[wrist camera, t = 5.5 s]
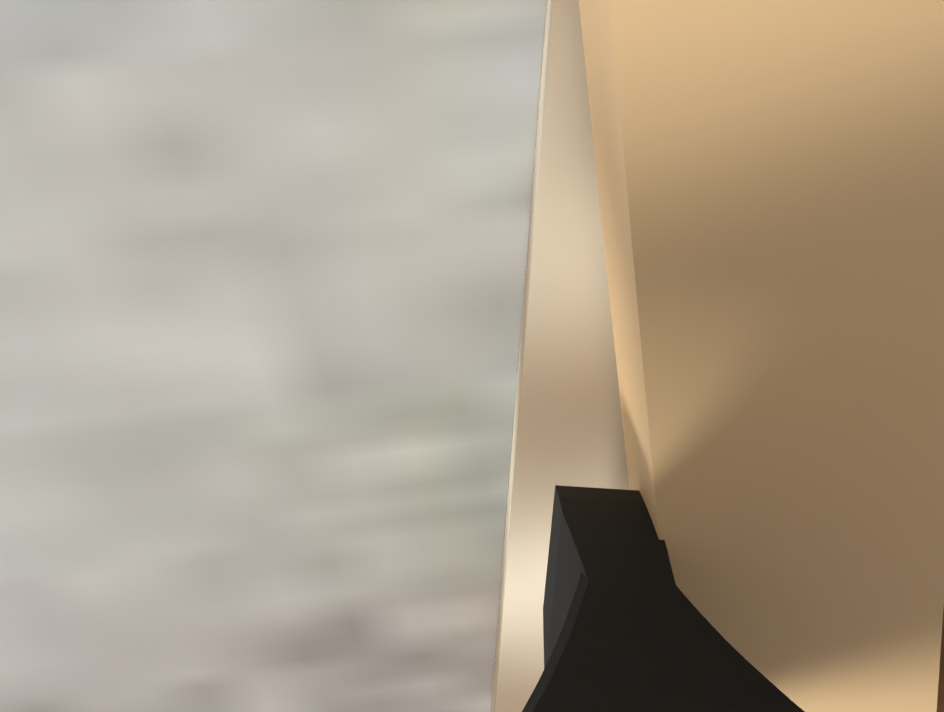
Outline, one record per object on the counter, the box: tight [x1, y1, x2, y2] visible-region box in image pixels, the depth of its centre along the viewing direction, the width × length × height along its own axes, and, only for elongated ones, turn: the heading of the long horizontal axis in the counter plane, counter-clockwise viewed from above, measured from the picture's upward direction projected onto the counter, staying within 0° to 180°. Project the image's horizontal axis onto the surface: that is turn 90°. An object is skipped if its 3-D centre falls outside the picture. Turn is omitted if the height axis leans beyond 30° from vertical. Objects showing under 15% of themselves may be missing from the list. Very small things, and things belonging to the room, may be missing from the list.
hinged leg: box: [579, 0, 944, 712], centre depth 10 cm, size 15×3×3 cm, turn 9°
